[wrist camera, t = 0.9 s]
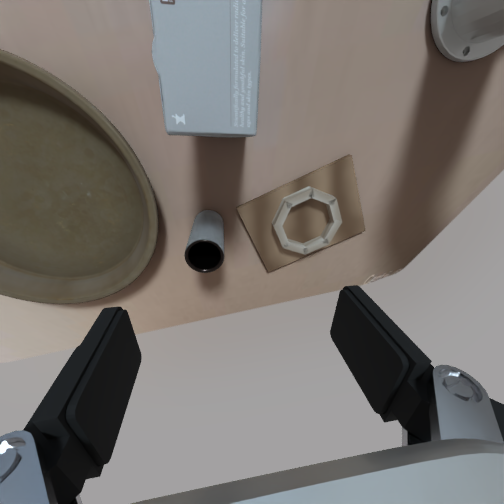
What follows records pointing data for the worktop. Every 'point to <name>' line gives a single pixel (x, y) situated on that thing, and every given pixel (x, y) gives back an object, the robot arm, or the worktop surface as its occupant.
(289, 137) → the worktop surface
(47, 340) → the worktop surface
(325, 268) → the worktop surface
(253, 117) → the skincare box
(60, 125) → the plant saucer
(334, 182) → the tan board with ring
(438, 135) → the worktop surface
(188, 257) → the grey tube
